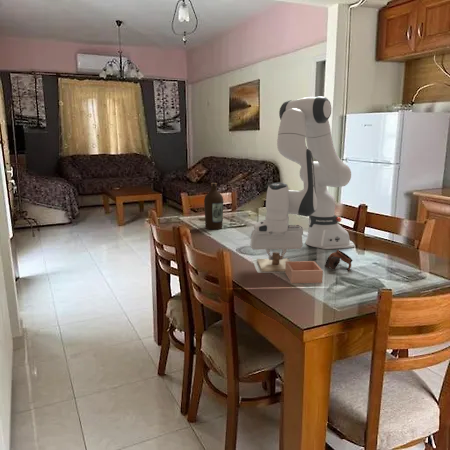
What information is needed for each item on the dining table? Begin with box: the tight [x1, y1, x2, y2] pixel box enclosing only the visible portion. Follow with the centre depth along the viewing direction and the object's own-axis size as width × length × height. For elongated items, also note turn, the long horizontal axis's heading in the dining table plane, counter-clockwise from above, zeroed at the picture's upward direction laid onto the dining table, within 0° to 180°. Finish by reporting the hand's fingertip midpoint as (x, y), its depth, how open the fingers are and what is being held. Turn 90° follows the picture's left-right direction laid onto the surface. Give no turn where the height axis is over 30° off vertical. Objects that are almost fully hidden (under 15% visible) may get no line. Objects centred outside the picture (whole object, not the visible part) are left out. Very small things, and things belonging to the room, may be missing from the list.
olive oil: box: [203, 182, 224, 231], centre depth 228 cm, size 11×11×25 cm
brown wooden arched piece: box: [324, 249, 353, 271], centre depth 162 cm, size 12×10×8 cm
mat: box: [252, 260, 285, 274], centre depth 164 cm, size 16×14×1 cm
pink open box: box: [284, 260, 324, 284], centre depth 151 cm, size 11×11×5 cm
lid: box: [256, 251, 291, 271], centre depth 163 cm, size 13×13×5 cm
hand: (275, 259), depth 163 cm, fingers closed on lid, 3 cm apart
